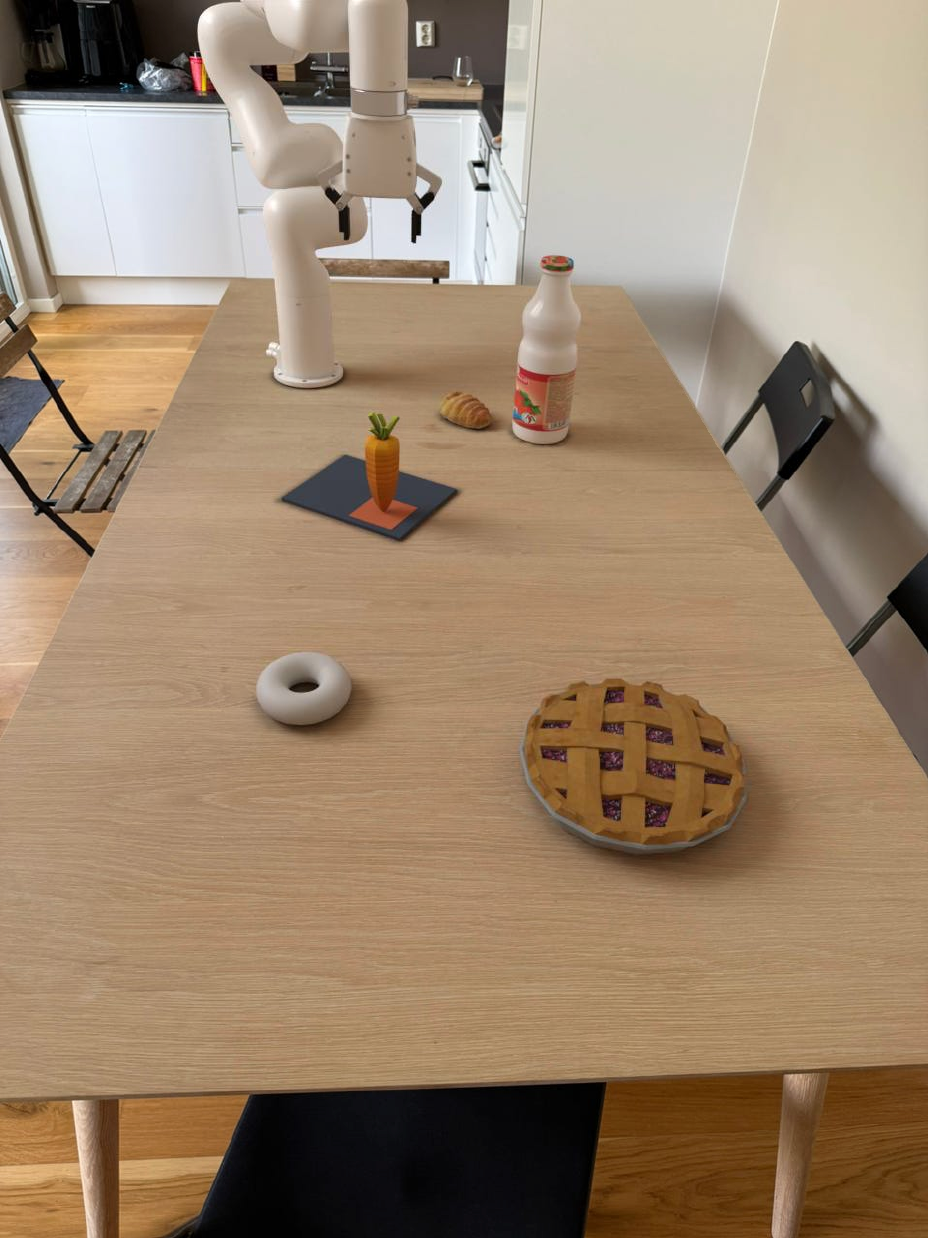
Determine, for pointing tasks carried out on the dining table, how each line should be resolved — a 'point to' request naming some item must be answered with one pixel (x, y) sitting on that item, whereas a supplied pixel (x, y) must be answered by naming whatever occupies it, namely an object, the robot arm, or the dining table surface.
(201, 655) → the dining table surface
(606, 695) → the pie
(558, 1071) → the dining table surface
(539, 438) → the fruit juice
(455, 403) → the pastry
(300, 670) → the donut
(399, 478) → the mat
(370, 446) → the carrot
